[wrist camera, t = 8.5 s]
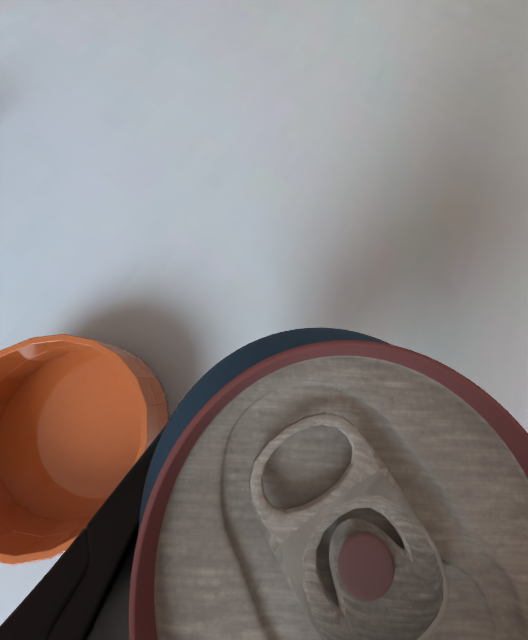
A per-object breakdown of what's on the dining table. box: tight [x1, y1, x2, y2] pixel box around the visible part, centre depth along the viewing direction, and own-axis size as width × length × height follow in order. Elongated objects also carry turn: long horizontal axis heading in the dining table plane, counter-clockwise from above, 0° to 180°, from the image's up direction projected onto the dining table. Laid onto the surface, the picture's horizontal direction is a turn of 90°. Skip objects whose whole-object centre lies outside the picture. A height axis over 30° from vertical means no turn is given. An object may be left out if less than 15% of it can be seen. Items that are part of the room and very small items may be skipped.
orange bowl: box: [0, 334, 168, 565], centre depth 18 cm, size 13×13×4 cm
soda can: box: [129, 328, 528, 640], centre depth 9 cm, size 7×7×12 cm
